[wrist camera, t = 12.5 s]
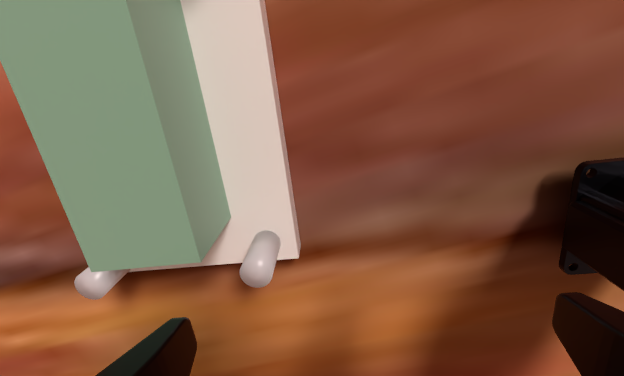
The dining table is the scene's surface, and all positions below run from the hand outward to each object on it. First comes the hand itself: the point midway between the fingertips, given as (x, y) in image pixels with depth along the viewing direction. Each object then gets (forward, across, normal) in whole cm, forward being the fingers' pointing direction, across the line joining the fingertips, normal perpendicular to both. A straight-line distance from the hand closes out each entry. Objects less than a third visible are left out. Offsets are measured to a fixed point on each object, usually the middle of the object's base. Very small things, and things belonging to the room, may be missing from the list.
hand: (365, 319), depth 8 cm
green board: (+9, +9, -5) cm, 14 cm away
